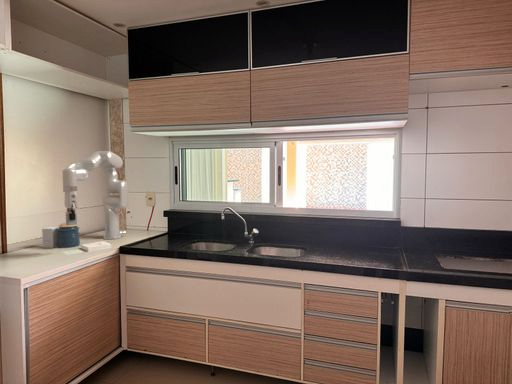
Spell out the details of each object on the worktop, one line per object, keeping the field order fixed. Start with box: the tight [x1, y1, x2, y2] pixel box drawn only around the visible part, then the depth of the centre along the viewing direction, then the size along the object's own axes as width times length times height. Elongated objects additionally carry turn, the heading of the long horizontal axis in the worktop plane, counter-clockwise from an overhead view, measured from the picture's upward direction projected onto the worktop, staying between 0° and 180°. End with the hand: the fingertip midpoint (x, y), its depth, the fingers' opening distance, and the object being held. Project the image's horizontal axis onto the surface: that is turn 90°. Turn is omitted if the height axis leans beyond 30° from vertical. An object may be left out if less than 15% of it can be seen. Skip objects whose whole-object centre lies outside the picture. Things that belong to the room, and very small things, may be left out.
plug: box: [65, 210, 78, 226], centre depth 208 cm, size 5×4×8 cm
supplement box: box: [41, 226, 59, 249], centre depth 226 cm, size 7×7×13 cm
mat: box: [61, 249, 84, 256], centre depth 209 cm, size 10×10×1 cm
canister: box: [57, 222, 81, 249], centre depth 226 cm, size 13×13×18 cm
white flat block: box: [80, 240, 112, 252], centre depth 219 cm, size 14×12×3 cm
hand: (71, 219), depth 208 cm, fingers closed on plug, 3 cm apart
